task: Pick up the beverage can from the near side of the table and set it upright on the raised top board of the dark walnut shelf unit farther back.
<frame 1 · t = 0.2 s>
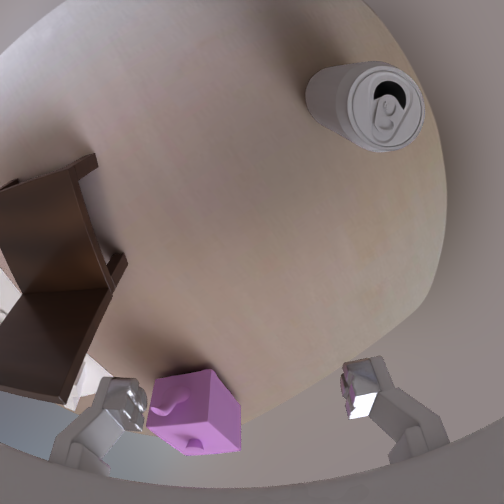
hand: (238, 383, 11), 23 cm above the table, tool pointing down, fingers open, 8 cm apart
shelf: (64, 221, 32), on the table
teacup and saucer: (1, 312, 40), on the table
napkin holder: (81, 374, 48), on the table
teapot: (196, 380, 47), on the table
beverage can: (334, 97, 26), on the table
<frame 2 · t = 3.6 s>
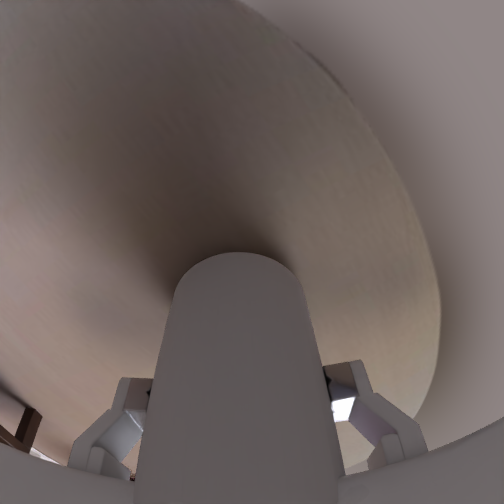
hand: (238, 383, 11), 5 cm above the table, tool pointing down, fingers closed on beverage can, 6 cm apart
napkin holder: (40, 459, 37), on the table
beverage can: (239, 296, 16), on the table, touching gripper
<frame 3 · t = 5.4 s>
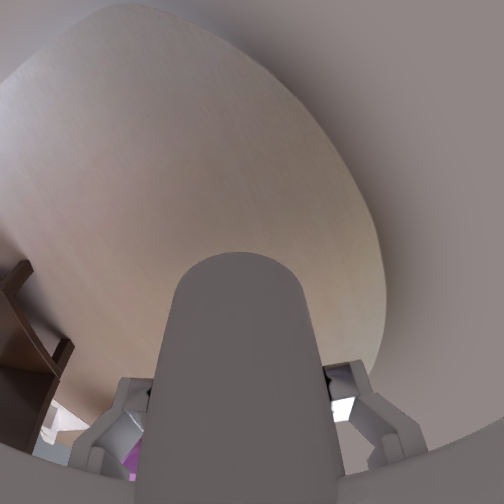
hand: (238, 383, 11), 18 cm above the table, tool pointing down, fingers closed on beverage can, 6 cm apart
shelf: (18, 308, 32), on the table
napkin holder: (56, 416, 47), on the table
teapot: (151, 431, 47), on the table
beverage can: (239, 296, 16), point 12 cm above the table, touching gripper
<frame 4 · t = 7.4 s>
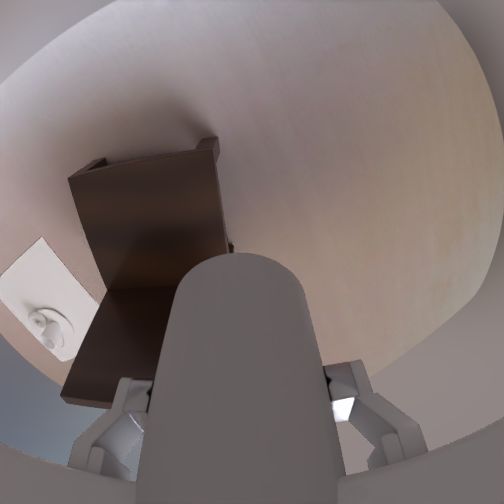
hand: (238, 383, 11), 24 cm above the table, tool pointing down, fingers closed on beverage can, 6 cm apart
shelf: (163, 208, 32), on the table
teacup and saucer: (51, 310, 41), on the table
beverage can: (239, 297, 16), point 18 cm above the table, touching gripper
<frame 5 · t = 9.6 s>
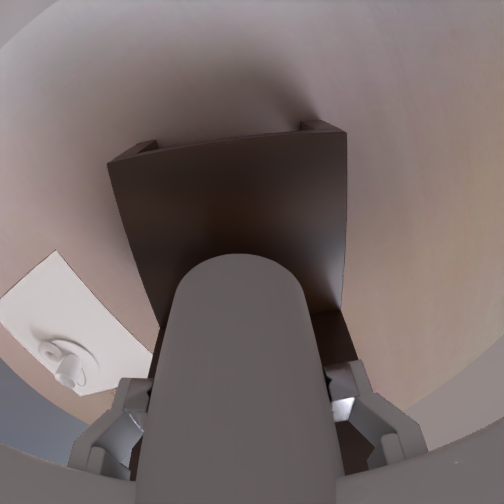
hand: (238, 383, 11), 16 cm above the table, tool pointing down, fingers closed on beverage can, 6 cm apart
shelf: (238, 213, 25), on the table
teacup and saucer: (68, 341, 33), on the table
beverage can: (239, 297, 16), point 10 cm above the table, touching gripper
when the fingers open (11 cm above the table, at t = 11.4 s): beverage can stays where it is, resting on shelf.
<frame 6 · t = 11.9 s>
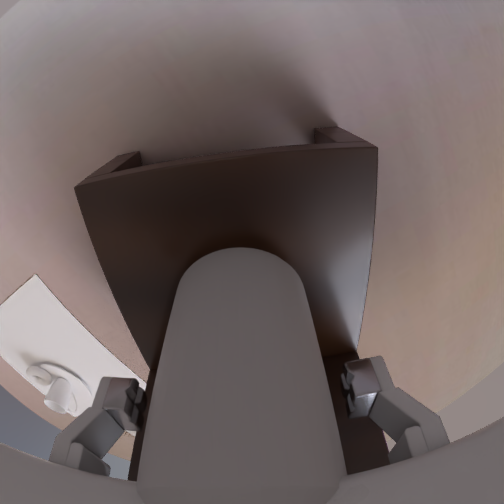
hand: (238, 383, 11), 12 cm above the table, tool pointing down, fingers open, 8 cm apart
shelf: (239, 238, 21), on the table
teacup and saucer: (56, 365, 29), on the table
beverage can: (240, 291, 16), point 6 cm above the table, touching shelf
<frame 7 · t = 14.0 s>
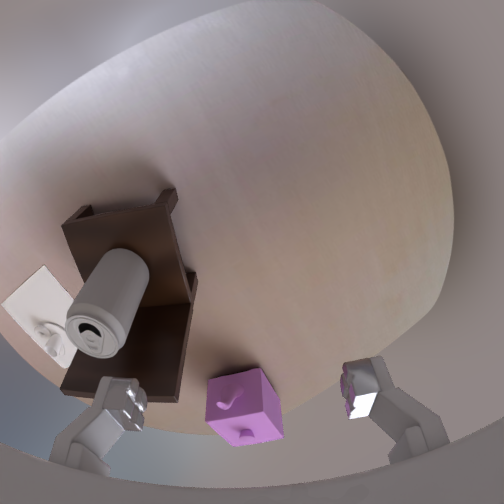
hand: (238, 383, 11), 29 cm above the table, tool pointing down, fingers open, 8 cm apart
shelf: (138, 244, 40), on the table
teacup and saucer: (54, 324, 48), on the table
teapot: (242, 379, 55), on the table
beverage can: (126, 267, 35), point 6 cm above the table, touching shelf
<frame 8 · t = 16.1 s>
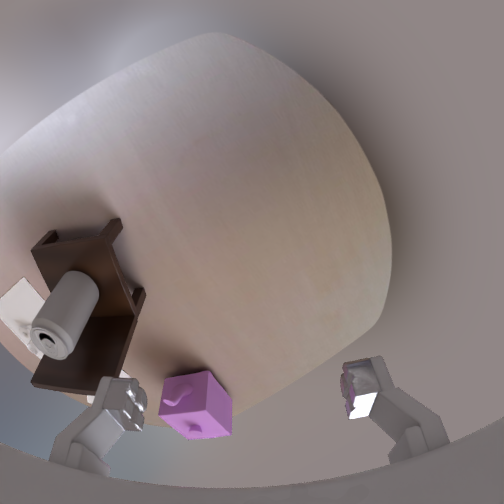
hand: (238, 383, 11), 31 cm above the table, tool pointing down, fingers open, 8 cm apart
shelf: (96, 263, 44), on the table
teacup and saucer: (35, 326, 53), on the table
napkin holder: (102, 375, 60), on the table
teapot: (196, 379, 60), on the table
beverage can: (82, 285, 40), point 6 cm above the table, touching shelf
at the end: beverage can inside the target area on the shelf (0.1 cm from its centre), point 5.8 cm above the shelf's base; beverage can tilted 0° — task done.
